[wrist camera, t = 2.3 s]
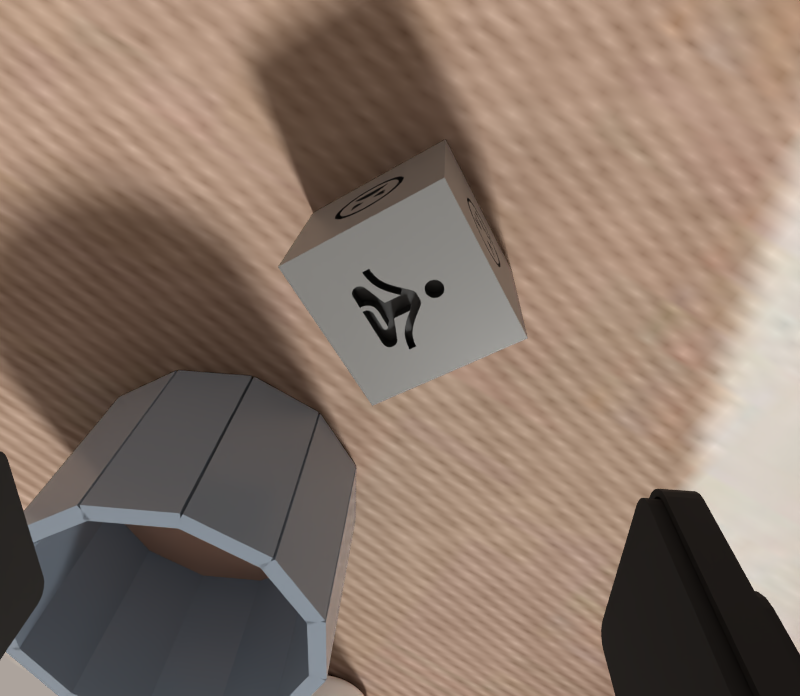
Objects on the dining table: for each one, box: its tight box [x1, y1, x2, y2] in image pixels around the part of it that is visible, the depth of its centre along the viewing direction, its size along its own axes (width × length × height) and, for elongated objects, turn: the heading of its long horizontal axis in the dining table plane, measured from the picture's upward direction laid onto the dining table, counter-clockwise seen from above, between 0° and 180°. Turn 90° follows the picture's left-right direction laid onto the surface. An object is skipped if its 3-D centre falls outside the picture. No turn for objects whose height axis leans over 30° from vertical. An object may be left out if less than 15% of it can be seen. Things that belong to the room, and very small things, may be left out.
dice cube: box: [278, 139, 527, 406], centre depth 19 cm, size 5×5×5 cm
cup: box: [6, 370, 356, 696], centre depth 24 cm, size 11×11×8 cm
